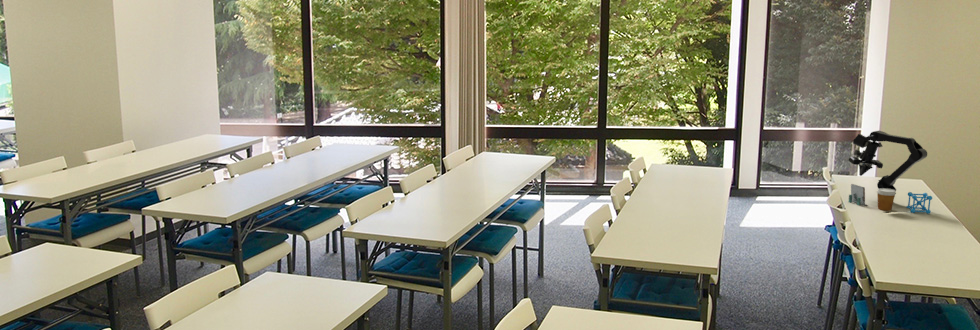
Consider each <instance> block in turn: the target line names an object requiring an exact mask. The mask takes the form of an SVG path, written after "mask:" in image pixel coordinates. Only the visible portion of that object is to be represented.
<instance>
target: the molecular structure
mask: <svg viewBox="0 0 980 330" xmlns="http://www.w3.org/2000/svg"><path fill="white" fill-rule="evenodd" d="M907 196H908V203H907V205H906V208H907V209H909V210H910V213H911V214H914V213H916V212H917V213H926V214H927V215H930V214H931V213H932V210H931V209H930V208H931V201H932V200H933V196H932V195H928V193H927V192H923V193H912V192H911V191H909V192H908V193H907ZM911 199H912V200H913V202H912V204H911ZM919 199H920V200H919ZM926 201H928V205H927V207H928V208H927V207H926ZM922 203H923V204H922ZM918 206H920V207H918ZM917 209H918V210H917Z"/></svg>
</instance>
